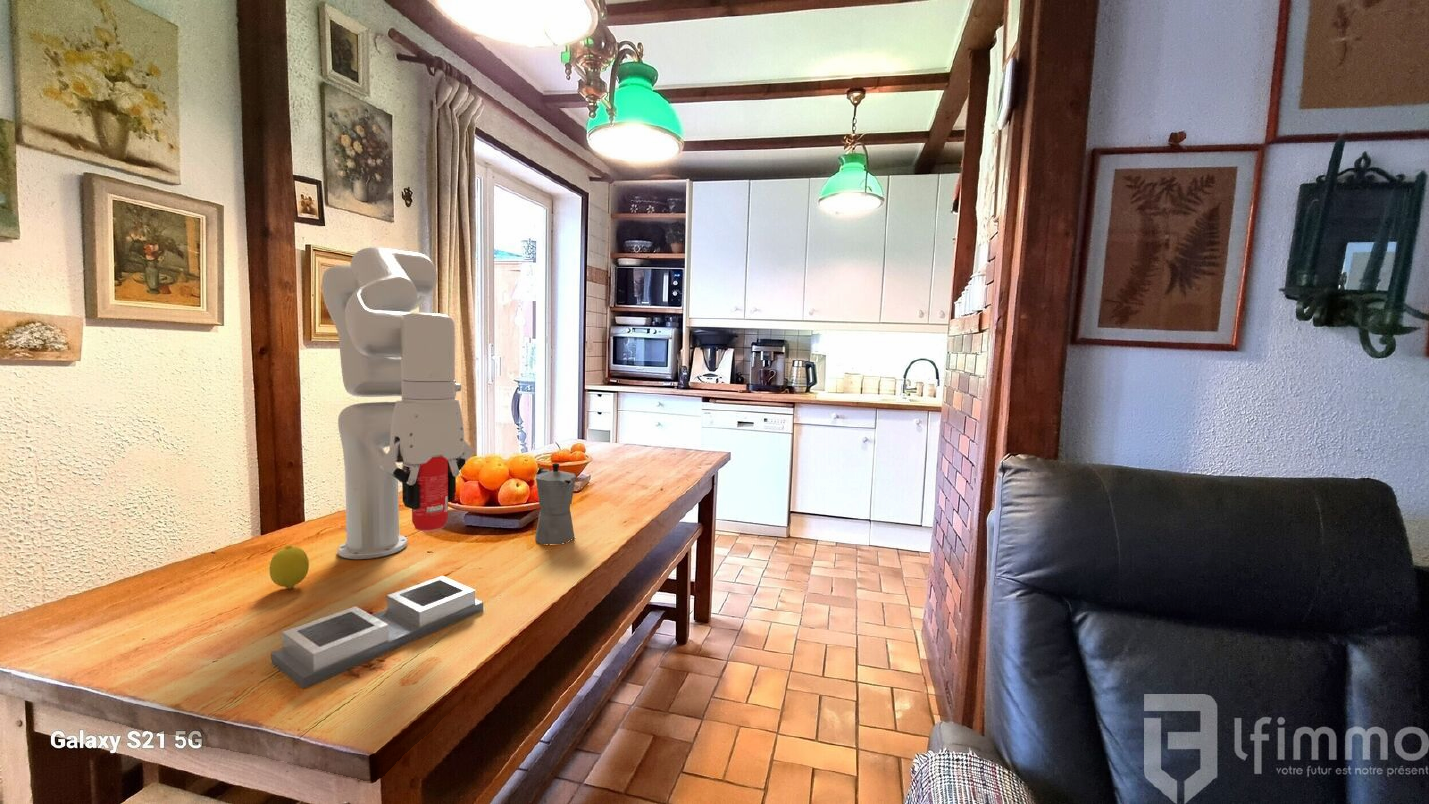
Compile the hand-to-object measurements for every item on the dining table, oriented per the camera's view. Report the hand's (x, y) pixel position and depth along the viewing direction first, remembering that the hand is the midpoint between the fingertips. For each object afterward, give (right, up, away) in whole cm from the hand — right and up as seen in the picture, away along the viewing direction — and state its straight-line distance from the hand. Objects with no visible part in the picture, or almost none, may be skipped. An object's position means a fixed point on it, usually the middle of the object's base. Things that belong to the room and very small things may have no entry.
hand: (430, 502), depth 87 cm
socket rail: (-4, -20, -4) cm, 20 cm away
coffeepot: (+8, -16, +40) cm, 44 cm away
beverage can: (0, -4, 0) cm, 4 cm away
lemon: (-30, -17, +9) cm, 36 cm away
